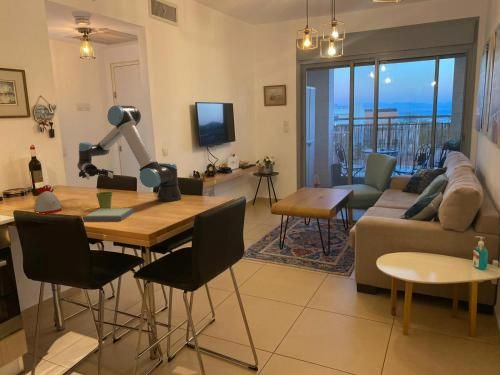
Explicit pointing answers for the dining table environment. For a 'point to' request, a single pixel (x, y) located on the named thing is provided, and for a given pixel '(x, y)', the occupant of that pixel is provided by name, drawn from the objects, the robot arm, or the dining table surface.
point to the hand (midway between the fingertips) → (100, 176)
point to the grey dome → (47, 202)
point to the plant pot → (104, 199)
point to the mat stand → (109, 214)
